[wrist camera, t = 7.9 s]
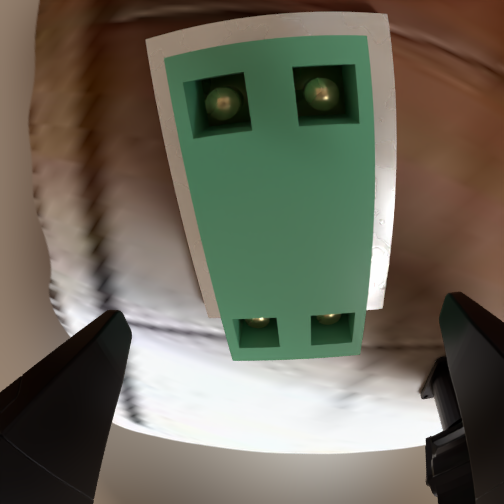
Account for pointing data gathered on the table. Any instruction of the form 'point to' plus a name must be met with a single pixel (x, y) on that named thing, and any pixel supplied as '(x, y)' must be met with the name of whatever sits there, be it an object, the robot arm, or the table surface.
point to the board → (282, 195)
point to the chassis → (308, 103)
